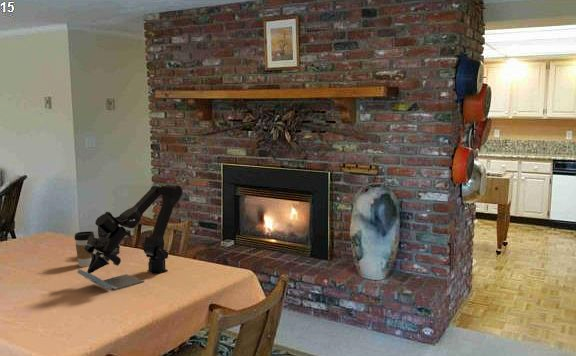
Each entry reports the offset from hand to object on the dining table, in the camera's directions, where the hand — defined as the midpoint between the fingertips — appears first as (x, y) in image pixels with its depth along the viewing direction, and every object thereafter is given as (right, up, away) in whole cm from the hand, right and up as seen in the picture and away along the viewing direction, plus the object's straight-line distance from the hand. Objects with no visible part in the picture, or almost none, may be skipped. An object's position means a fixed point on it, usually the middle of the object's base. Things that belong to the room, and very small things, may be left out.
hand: (88, 272), depth 196 cm
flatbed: (+9, -6, +11) cm, 16 cm away
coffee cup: (-15, -3, +34) cm, 38 cm away
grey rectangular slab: (+4, -6, +5) cm, 9 cm away
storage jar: (-11, -1, +53) cm, 54 cm away
